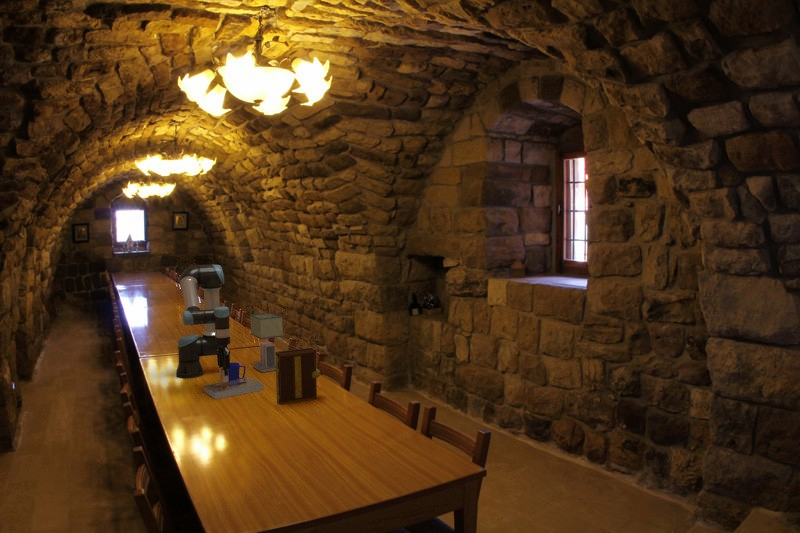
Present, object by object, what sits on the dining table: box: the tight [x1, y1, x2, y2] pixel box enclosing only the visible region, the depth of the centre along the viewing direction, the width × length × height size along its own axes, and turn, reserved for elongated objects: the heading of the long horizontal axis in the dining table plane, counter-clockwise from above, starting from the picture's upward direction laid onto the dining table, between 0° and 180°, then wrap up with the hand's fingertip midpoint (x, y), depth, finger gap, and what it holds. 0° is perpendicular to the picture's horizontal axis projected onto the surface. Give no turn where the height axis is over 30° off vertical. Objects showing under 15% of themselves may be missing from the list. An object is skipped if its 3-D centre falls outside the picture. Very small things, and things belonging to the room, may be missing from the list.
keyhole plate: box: [203, 376, 265, 400], centre depth 315 cm, size 26×17×3 cm, turn 128°
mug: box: [228, 361, 247, 381], centre depth 333 cm, size 8×12×10 cm
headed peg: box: [219, 367, 228, 389], centre depth 311 cm, size 5×5×12 cm
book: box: [275, 347, 321, 405], centre depth 296 cm, size 22×8×25 cm, turn 117°
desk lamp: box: [249, 312, 284, 373], centre depth 361 cm, size 18×14×33 cm
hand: (224, 380), depth 311 cm, fingers closed on headed peg, 3 cm apart
